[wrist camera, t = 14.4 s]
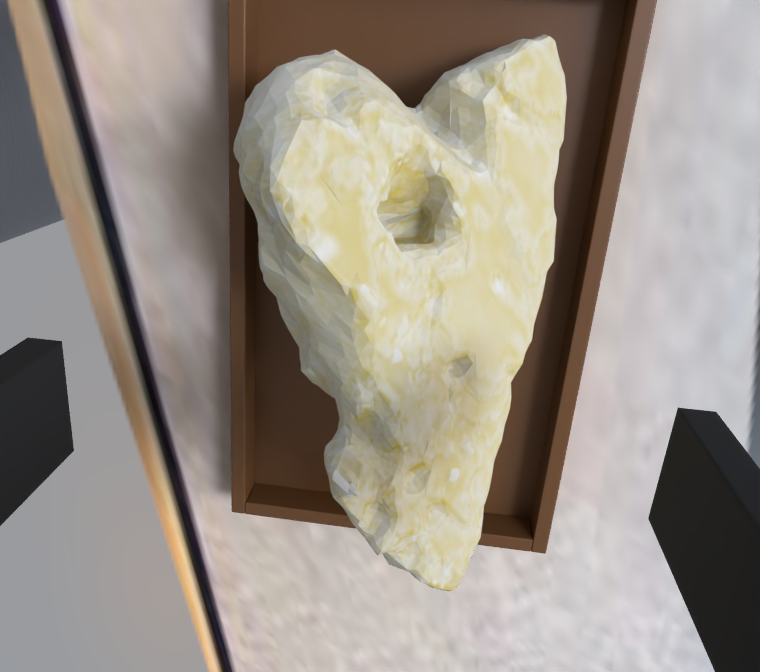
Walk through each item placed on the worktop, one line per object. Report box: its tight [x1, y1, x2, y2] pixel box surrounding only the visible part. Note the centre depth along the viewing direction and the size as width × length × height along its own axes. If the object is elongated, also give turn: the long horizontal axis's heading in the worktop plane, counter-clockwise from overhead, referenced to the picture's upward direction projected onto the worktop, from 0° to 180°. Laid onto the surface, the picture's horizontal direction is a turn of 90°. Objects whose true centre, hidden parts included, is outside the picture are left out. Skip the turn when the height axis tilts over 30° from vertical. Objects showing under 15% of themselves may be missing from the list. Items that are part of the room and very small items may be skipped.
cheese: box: [233, 34, 567, 591], centre depth 23 cm, size 15×7×15 cm
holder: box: [228, 0, 657, 553], centre depth 25 cm, size 13×21×2 cm, turn 175°
